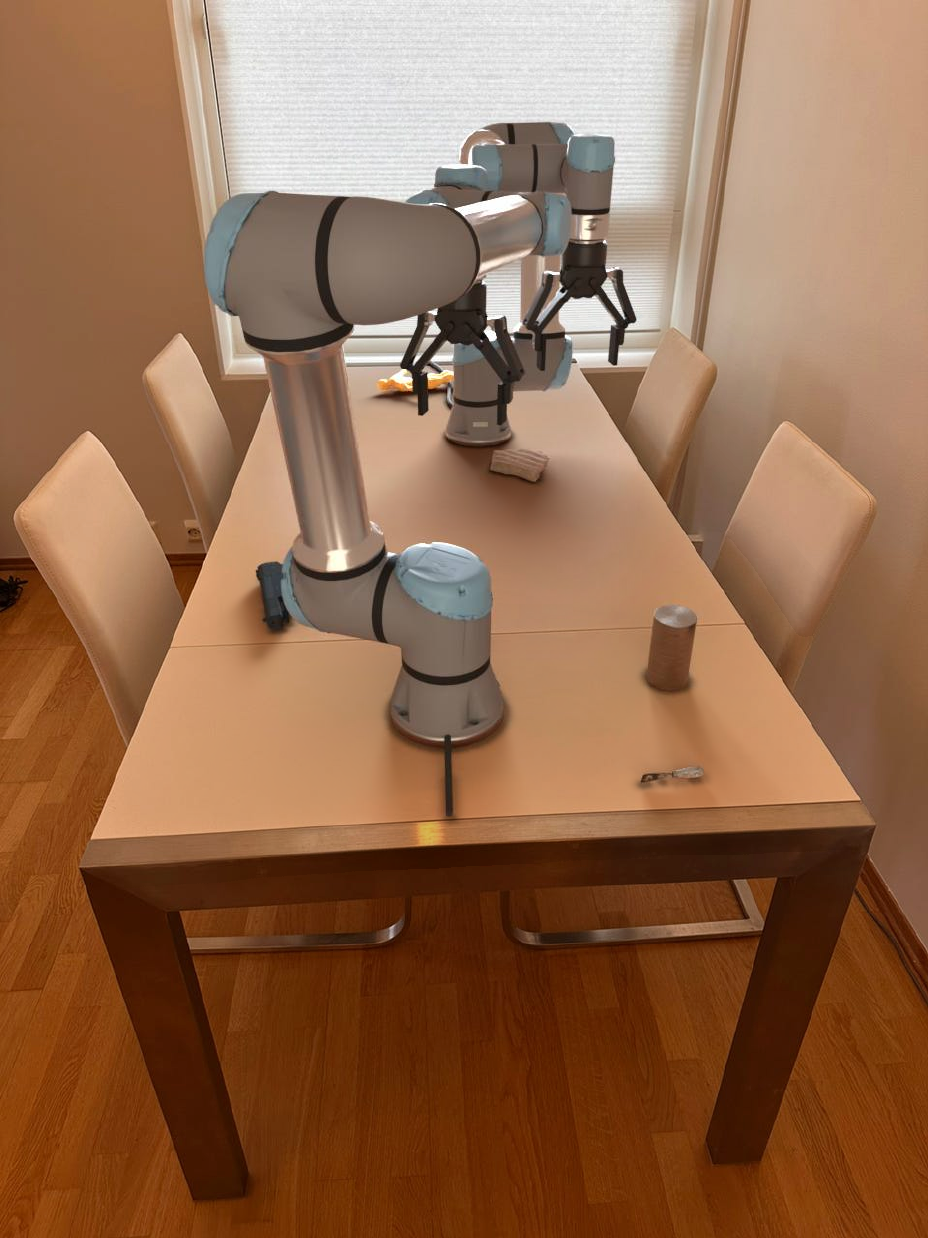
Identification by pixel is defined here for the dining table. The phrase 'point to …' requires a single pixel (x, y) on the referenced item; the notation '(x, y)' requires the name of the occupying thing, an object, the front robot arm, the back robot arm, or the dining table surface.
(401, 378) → the orange white flat wedge
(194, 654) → the dining table surface
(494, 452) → the beige ridged slab
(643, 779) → the putty knife
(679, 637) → the canister
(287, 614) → the handgun
